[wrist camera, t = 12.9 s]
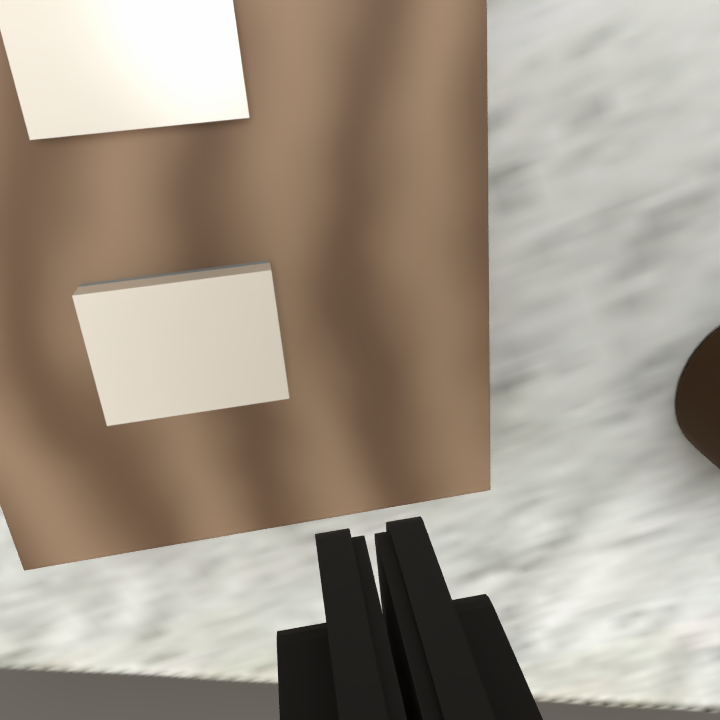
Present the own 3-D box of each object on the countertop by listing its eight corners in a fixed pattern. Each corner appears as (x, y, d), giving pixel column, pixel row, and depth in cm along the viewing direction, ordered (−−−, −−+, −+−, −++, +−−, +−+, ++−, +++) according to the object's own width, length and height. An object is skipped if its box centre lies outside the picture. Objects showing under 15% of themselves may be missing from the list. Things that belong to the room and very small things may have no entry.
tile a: (223, -67, 24) (-22, -50, 23) (249, 117, 26) (29, 139, 25) (223, -59, 25) (-6, -43, 24) (248, 114, 27) (41, 135, 27)
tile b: (271, 270, 28) (71, 295, 28) (289, 398, 31) (107, 426, 30) (269, 260, 30) (80, 284, 29) (286, 383, 32) (112, 409, 31)
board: (471, -195, 26) (485, -209, 25) (481, 474, 38) (490, 489, 37) (-216, -160, 23) (-245, -174, 22) (32, 551, 35) (24, 570, 34)
